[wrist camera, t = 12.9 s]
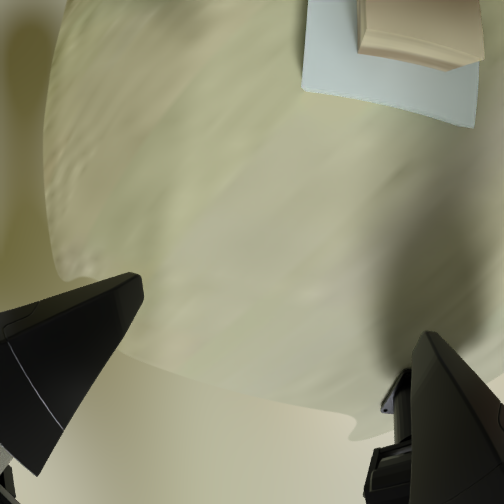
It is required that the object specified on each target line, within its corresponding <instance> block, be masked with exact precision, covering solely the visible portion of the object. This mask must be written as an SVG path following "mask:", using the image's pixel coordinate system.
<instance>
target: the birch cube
mask: <svg viewBox="0 0 504 504" xmlns="http://www.w3.org/2000/svg"><path fill="white" fill-rule="evenodd" d="M357 34H358V54H364V55H370V56H377V57H383V58H388V59H393V60H399V61H403V62H408V63H413V64H417V65H421V66H425V67H429V68H433V69H437V70H440V71H444V72H447V71H450V70H453V69H456V68H459V67H462V66H465V65H468V64H472V63H475V62H478V61H482V60H485V53H484V38H483V27H482V19H481V11H480V4H479V0H357Z"/></svg>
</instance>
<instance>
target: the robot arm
mask: <svg viewBox="0 0 504 504" xmlns="http://www.w3.org/2000/svg"><path fill="white" fill-rule="evenodd" d="M143 300H144V291H143V285H142V278H141V276H140V275H139V274H136V273H132V272H128V273H124V274H121V275H118V276H115V277H112V278H108V279H105V280H102V281H99V282H96V283H93V284H90V285H86V286H83V287H80V288H77V289H74V290H71V291H68V292H65V293H62V294H59V295H56V296H52V297H49V298H47V299H43V300H41V301H37V302H34V303H31V304H28V305H25V306H22V307H18V308H15V309H12V310H8V311H4V312H0V504H20V503H19V502H18V501H17V500H16V499H15V497H16V494H15V488H14V481H13V474H12V467H10V466H9V465H8V464H9V463H10V461H11V460H12V459H13V457H14V458H15V459H16V460H17V461H19V462H20V463H21V464H22V465H23V466H24V467H25V468H26V469H28V470H29V471H30V472H31V473H32V474H34V475H35V476H36V477H37V476H38V475H39V474H40V472H41V470H42V469H43V467H44V465H45V463H46V461H47V459H48V458H49V456H50V454H51V452H52V451H53V449H54V447H55V446H56V444H57V442H58V440H59V439H60V437H61V435H62V433H63V432H64V431H63V430H65V428H66V426H67V425H68V423H69V422H70V420H71V418H72V417H73V415H74V413H75V412H76V410H77V408H78V407H79V405H80V403H81V402H82V400H83V399H84V397H85V396H86V394H87V392H88V391H89V389H90V387H91V386H92V384H93V383H94V381H95V379H96V378H97V377H98V375H99V374H100V372H101V371H102V369H103V367H104V366H105V364H106V363H107V361H108V360H109V358H110V356H111V355H112V353H113V352H114V351H115V349H116V348H117V346H118V345H119V343H120V342H121V340H122V339H123V337H124V336H125V334H126V332H127V330H128V328H129V327H130V325H131V323H132V321H133V319H134V317H135V315H136V314H137V312H138V310H139V308H140V306H141V305H142V303H143ZM381 412H382V413H387V414H394V439H395V440H394V441H395V444H394V445H390V446H386V447H383V448H375V449H374V452H373V456H372V458H371V462H370V466H369V471H368V474H367V478H366V482H365V485H364V492H363V497H364V498H365V500H366V504H504V405H503V404H502V403H500V400H499V399H498V398H497V397H496V396H495V394H493V392H492V391H491V390H490V389H489V388H488V386H487V385H486V384H485V383H484V382H483V381H482V380H481V379H480V378H479V376H478V375H477V374H476V373H475V372H474V371H473V370H472V369H471V368H470V367H469V366H468V364H467V363H466V362H465V361H464V360H463V359H462V358H461V357H460V356H459V355H458V354H457V353H456V352H455V351H454V350H453V349H452V348H451V347H450V346H449V345H448V344H447V342H446V341H445V340H444V339H443V338H442V337H441V336H440V335H439V334H438V333H437V332H433V331H424V332H423V333H422V335H421V337H420V339H419V341H418V343H417V345H416V347H415V349H414V351H413V354H412V369H405V370H403V371H402V373H401V375H400V376H399V378H398V380H397V382H396V383H395V385H394V387H393V388H392V390H391V392H390V393H389V395H388V397H387V398H386V400H385V401H384V403H383V405H382V406H381Z"/></svg>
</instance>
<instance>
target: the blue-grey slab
mask: <svg viewBox="0 0 504 504" xmlns="http://www.w3.org/2000/svg"><path fill="white" fill-rule="evenodd" d="M478 82H479V61H478V62H475V63H472V64H468V65H465V66H462V67H459V68H456V69H453V70H450V71H447V72H444V71H440V70H437V69H433V68H429V67H425V66H421V65H417V64H413V63H408V62H403V61H399V60H393V59H388V58H383V57H377V56H370V55H364V54H358V34H357V0H308V10H307V25H306V38H305V50H304V62H303V73H302V84H301V87H302V88H303V89H304V90H305V91H307V92H315V93H322V94H329V95H335V96H342V97H347V98H353V99H358V100H363V101H368V102H373V103H377V104H382V105H386V106H391V107H395V108H399V109H403V110H406V111H410V112H414V113H418V114H421V115H424V116H428V117H431V118H434V119H438V120H441V121H444V122H447V123H450V124H453V125H456V126H459V127H467V128H473V129H474V125H475V117H476V108H477V97H478Z"/></svg>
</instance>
